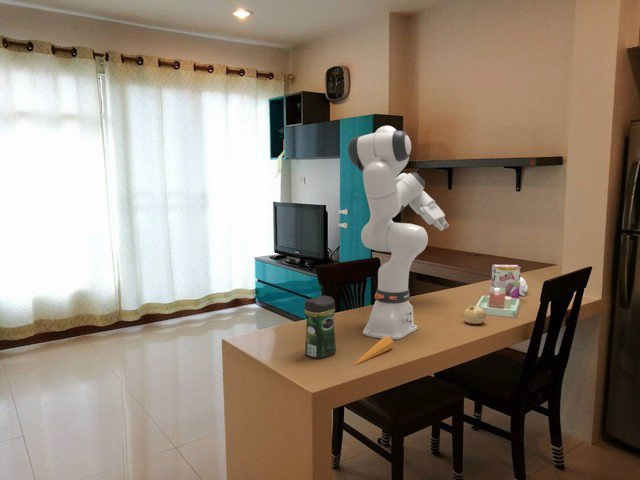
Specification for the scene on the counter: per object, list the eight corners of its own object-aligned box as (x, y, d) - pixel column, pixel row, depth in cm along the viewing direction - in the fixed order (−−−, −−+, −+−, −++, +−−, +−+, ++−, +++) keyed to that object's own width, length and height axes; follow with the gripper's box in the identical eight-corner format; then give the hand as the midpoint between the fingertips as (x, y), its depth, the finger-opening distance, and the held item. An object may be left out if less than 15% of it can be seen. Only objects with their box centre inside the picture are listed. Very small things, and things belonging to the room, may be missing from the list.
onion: (466, 319, 194) (467, 301, 194) (487, 322, 190) (488, 304, 189) (461, 324, 188) (461, 306, 187) (482, 327, 184) (483, 309, 183)
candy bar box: (492, 303, 217) (494, 266, 215) (490, 300, 222) (491, 264, 220) (519, 303, 216) (521, 266, 214) (515, 300, 221) (517, 264, 219)
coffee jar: (323, 347, 164) (323, 292, 162) (339, 353, 158) (339, 296, 156) (300, 354, 158) (299, 297, 155) (316, 361, 152) (316, 302, 149)
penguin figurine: (510, 276, 230) (518, 274, 239) (508, 294, 230) (517, 292, 240) (524, 278, 226) (532, 276, 235) (522, 296, 226) (531, 294, 236)
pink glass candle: (503, 314, 197) (505, 289, 196) (487, 312, 199) (488, 288, 198) (504, 310, 202) (506, 286, 201) (489, 308, 205) (490, 285, 204)
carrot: (386, 348, 165) (381, 336, 165) (397, 346, 162) (392, 333, 162) (350, 373, 150) (345, 359, 150) (361, 371, 147) (356, 357, 147)
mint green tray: (514, 319, 193) (515, 310, 192) (475, 315, 199) (475, 306, 199) (519, 306, 211) (519, 298, 210) (482, 303, 217) (482, 295, 217)
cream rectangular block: (509, 309, 205) (510, 299, 204) (487, 306, 209) (487, 297, 208) (511, 306, 209) (511, 296, 209) (488, 303, 213) (489, 294, 213)
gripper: (422, 201, 203) (445, 225, 200) (433, 198, 221) (455, 221, 218) (411, 211, 205) (434, 236, 202) (423, 208, 223) (445, 230, 221)
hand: (445, 228), depth 210 cm, fingers open, 8 cm apart
